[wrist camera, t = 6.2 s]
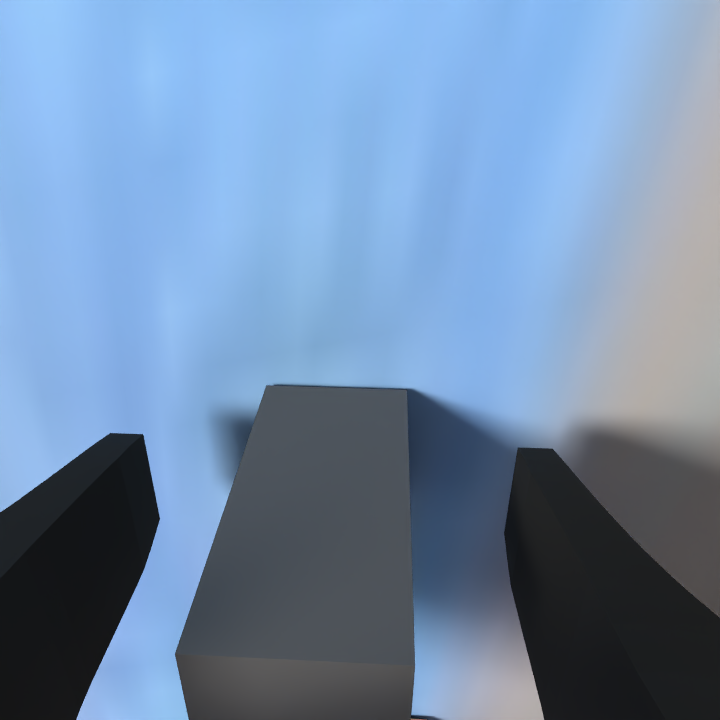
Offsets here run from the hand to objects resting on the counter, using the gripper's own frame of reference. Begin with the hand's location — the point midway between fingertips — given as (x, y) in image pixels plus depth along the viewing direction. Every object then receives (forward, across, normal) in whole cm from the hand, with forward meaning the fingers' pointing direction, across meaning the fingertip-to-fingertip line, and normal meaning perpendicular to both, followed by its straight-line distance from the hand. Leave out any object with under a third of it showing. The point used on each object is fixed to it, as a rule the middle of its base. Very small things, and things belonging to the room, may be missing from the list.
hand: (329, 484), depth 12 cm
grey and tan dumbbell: (+2, 0, +7) cm, 7 cm away
